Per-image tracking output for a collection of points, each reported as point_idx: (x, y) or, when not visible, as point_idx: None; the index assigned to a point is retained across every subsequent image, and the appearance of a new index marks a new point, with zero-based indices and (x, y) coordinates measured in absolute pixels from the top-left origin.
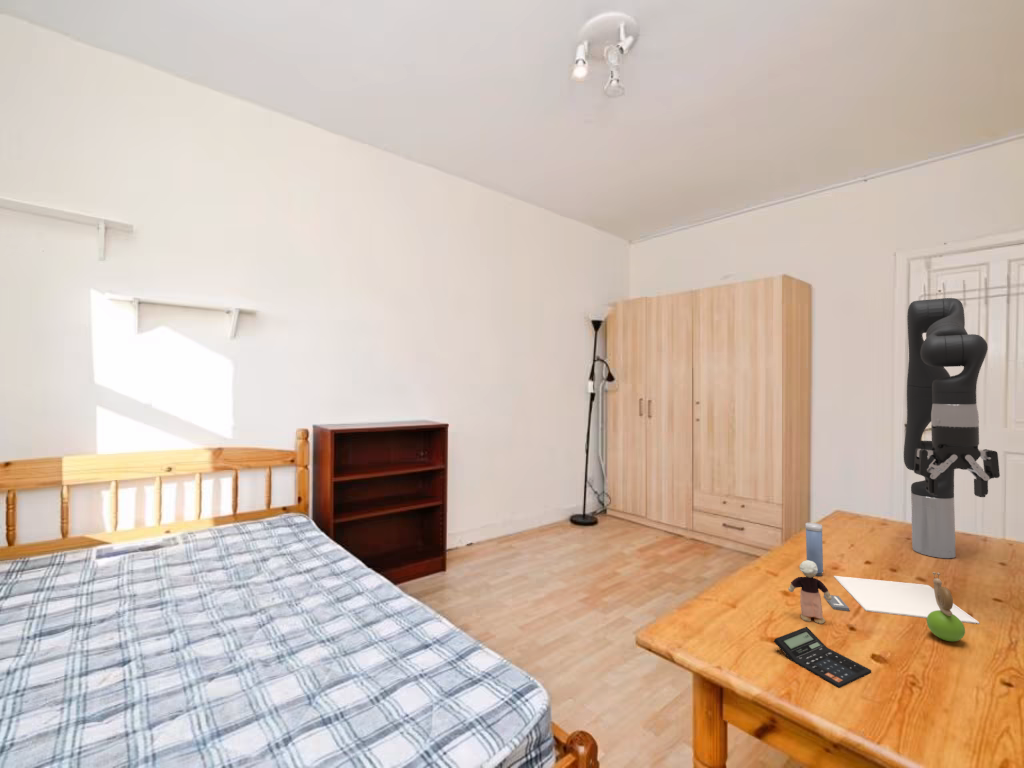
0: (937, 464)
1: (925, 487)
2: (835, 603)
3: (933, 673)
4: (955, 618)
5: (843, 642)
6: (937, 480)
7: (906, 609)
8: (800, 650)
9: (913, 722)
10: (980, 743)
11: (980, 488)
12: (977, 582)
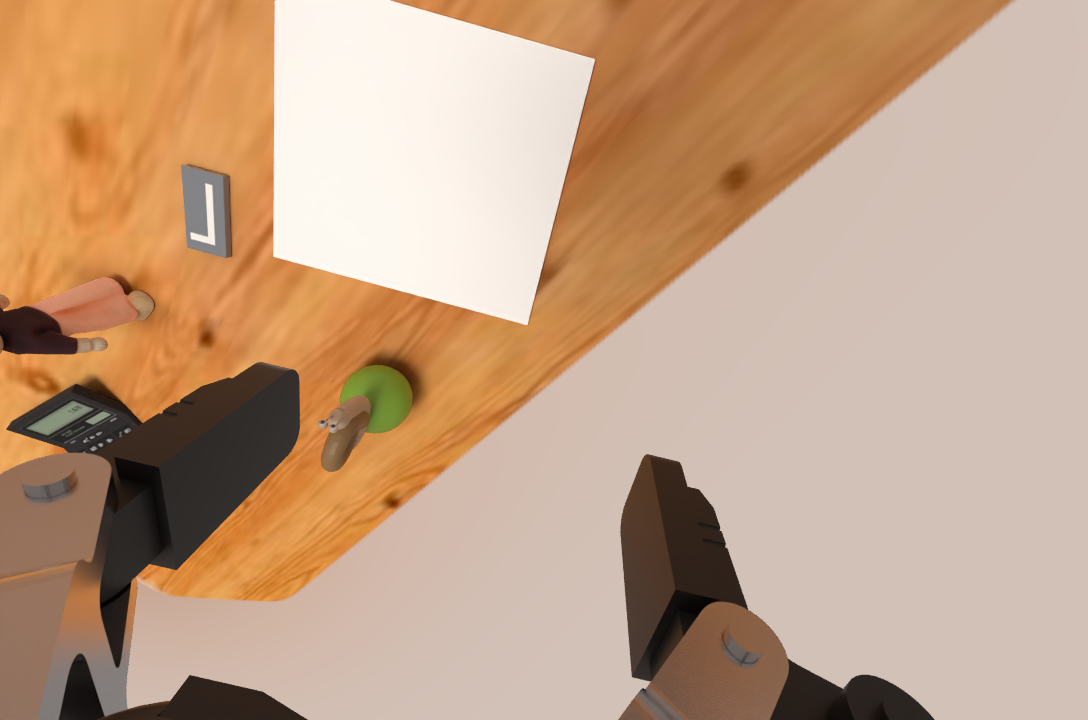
0: (15, 704)
1: (188, 396)
2: (197, 229)
3: (290, 476)
4: (376, 429)
5: (169, 389)
6: (181, 562)
7: (386, 255)
8: (69, 432)
9: (200, 556)
10: (262, 584)
11: (626, 581)
12: (837, 10)
